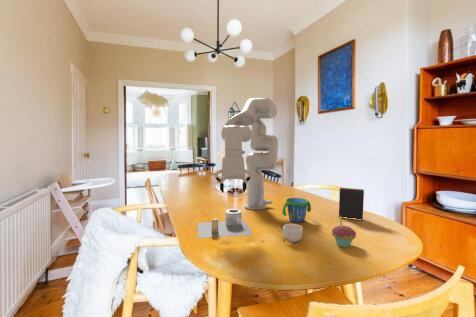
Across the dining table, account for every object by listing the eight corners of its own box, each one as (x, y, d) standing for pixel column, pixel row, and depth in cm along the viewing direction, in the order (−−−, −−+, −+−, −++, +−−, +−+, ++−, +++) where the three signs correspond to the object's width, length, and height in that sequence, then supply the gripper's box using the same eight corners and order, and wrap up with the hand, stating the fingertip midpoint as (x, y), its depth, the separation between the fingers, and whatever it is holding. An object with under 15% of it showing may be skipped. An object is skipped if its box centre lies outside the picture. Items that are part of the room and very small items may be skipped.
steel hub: (240, 221, 123) (240, 208, 123) (242, 226, 117) (242, 213, 116) (225, 221, 122) (225, 209, 122) (226, 227, 115) (226, 213, 115)
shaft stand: (245, 223, 124) (245, 209, 124) (252, 238, 107) (252, 221, 106) (198, 226, 121) (197, 211, 120) (198, 241, 103) (197, 224, 103)
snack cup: (288, 225, 122) (288, 204, 121) (277, 218, 132) (277, 198, 131) (316, 222, 127) (317, 201, 126) (304, 215, 137) (304, 196, 136)
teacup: (299, 245, 100) (300, 231, 99) (280, 241, 103) (280, 228, 103) (305, 236, 109) (305, 223, 108) (287, 233, 112) (287, 221, 112)
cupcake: (344, 251, 95) (345, 218, 94) (326, 242, 103) (327, 212, 101) (360, 246, 99) (361, 215, 98) (342, 238, 107) (343, 209, 105)
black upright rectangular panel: (362, 218, 132) (363, 189, 131) (362, 221, 128) (363, 190, 127) (339, 215, 137) (340, 187, 135) (338, 218, 133) (339, 188, 132)
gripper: (250, 153, 121) (250, 189, 123) (213, 153, 119) (213, 190, 120) (254, 154, 114) (253, 193, 115) (214, 154, 111) (214, 194, 113)
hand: (233, 191), depth 118 cm, fingers open, 9 cm apart
